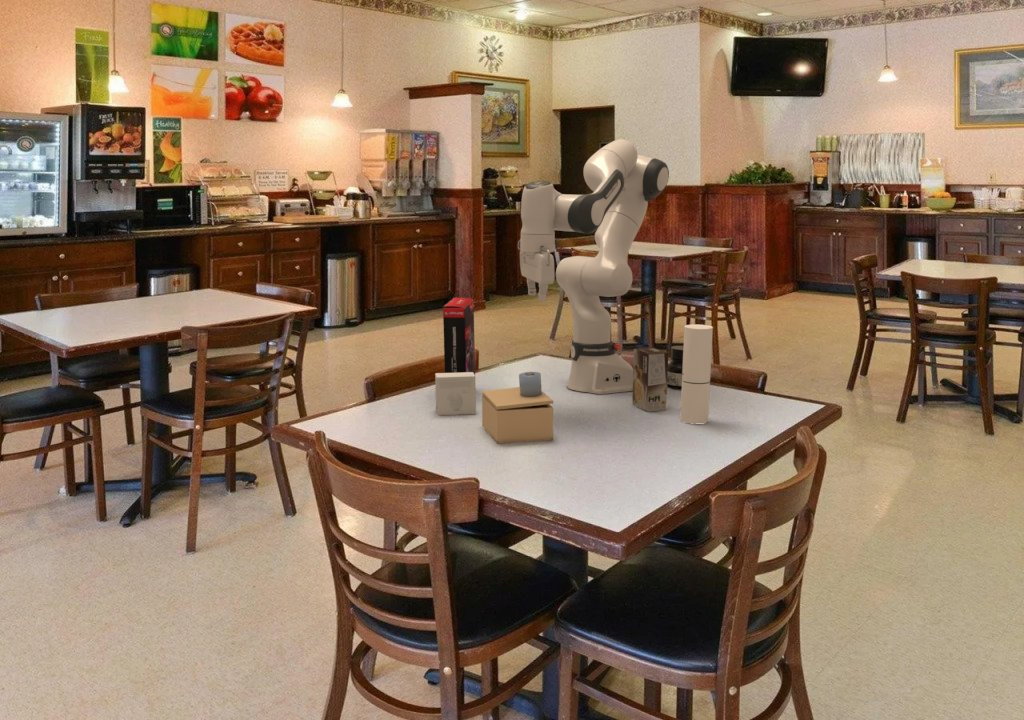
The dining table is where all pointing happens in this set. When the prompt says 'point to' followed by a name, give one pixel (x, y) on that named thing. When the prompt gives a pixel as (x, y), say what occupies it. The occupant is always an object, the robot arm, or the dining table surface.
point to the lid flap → (514, 398)
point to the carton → (518, 422)
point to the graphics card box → (459, 335)
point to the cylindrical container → (696, 373)
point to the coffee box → (650, 379)
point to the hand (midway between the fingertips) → (536, 297)
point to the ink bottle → (675, 368)
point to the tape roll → (530, 384)
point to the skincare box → (455, 393)
